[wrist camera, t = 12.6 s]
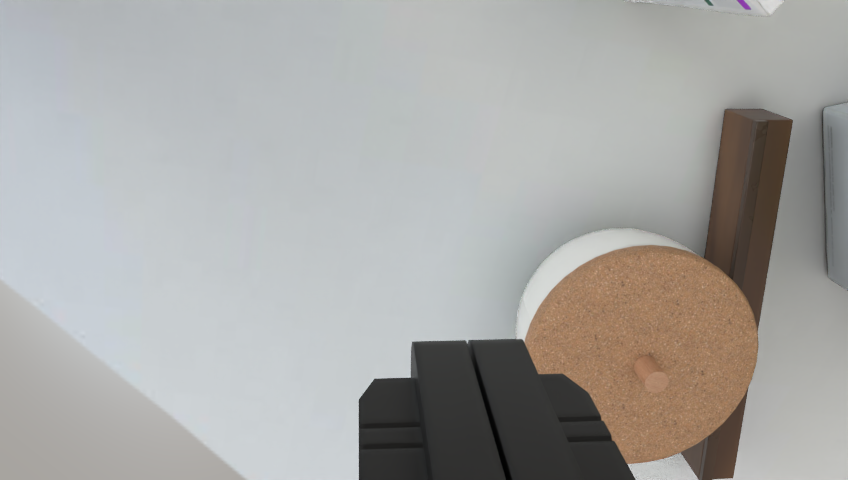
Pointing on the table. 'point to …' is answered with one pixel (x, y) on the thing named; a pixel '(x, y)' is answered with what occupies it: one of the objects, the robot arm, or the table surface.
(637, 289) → the trinket box
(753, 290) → the rail
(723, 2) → the syrup box
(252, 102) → the table surface
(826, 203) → the tea box
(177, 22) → the table surface
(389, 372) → the table surface
